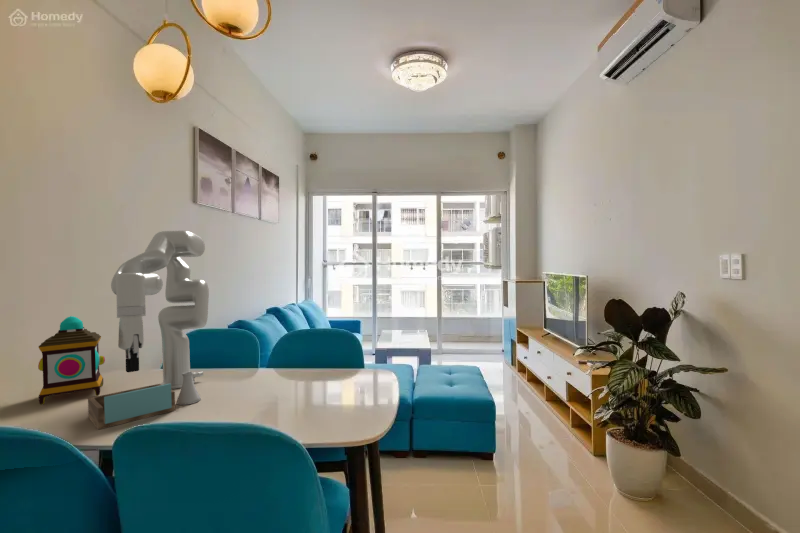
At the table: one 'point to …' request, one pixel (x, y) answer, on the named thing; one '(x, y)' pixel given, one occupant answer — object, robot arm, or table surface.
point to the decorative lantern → (70, 360)
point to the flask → (188, 391)
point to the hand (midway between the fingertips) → (132, 371)
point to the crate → (98, 419)
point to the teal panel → (137, 403)
